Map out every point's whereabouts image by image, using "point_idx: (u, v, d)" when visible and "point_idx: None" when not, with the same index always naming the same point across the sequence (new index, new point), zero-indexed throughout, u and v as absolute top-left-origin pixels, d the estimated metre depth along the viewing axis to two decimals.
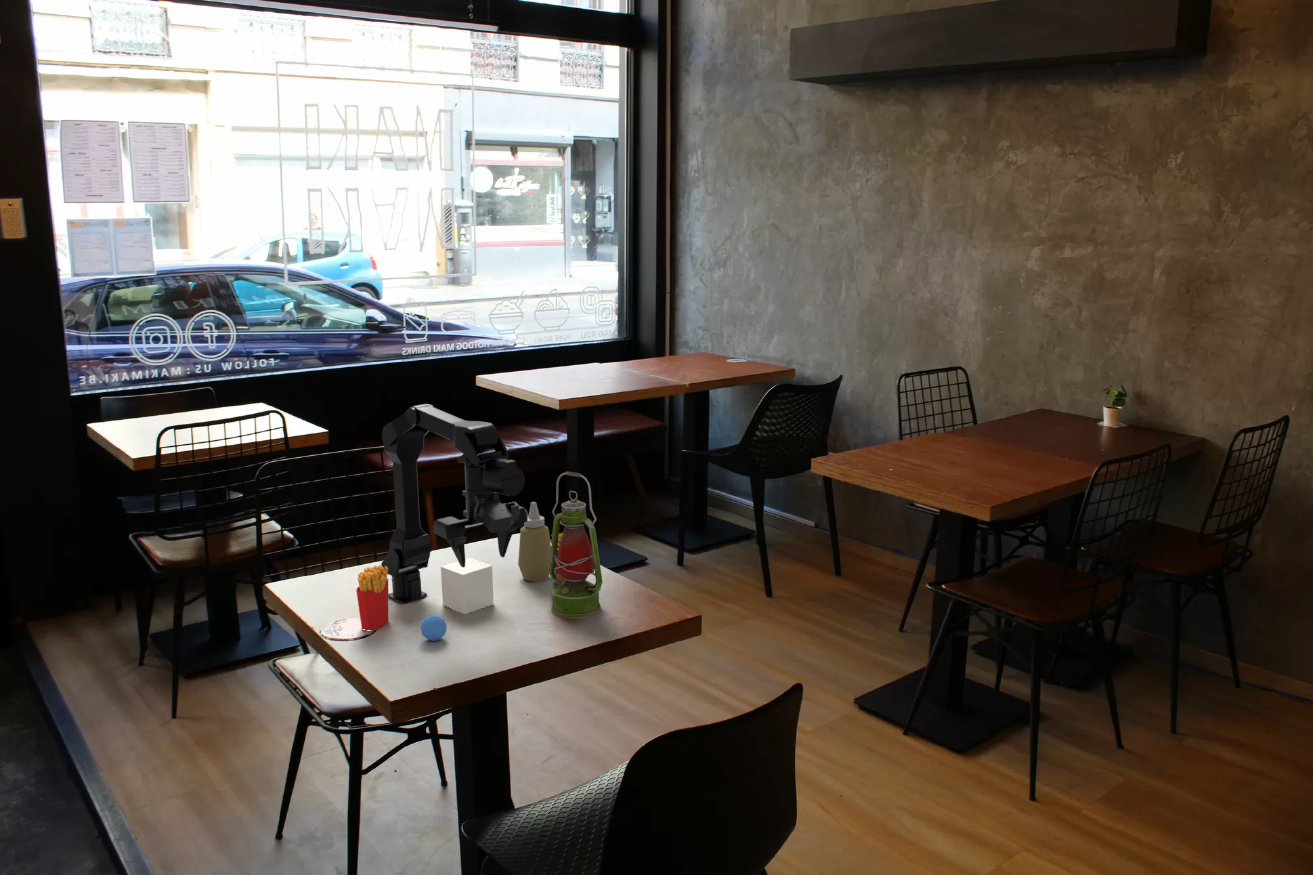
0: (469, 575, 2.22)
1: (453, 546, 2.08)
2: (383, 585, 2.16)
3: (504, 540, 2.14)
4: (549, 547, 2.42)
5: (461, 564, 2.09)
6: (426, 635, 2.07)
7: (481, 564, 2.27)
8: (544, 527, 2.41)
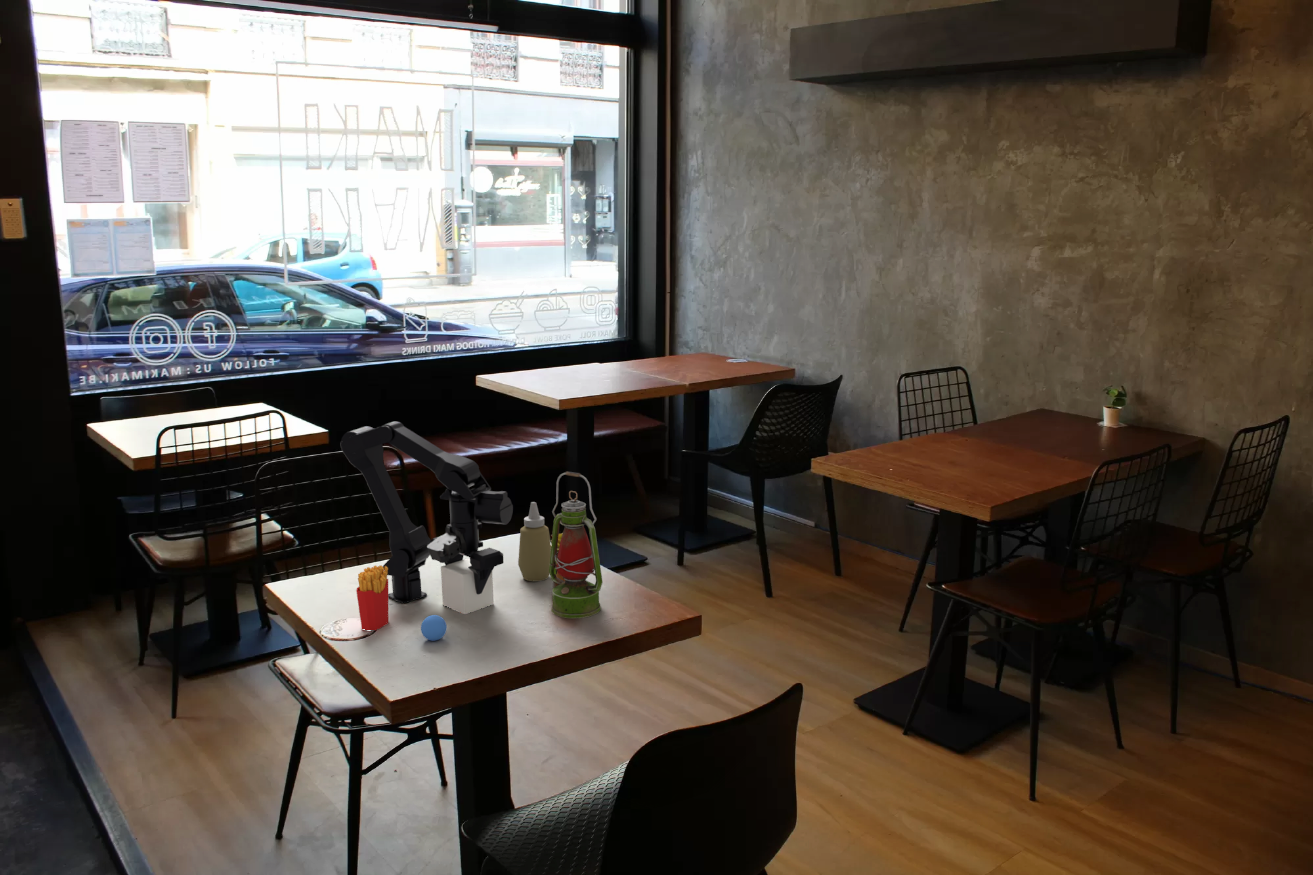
0: (469, 575, 2.22)
1: None
2: (383, 585, 2.16)
3: None
4: (549, 547, 2.42)
5: None
6: (426, 635, 2.07)
7: None
8: (544, 527, 2.41)
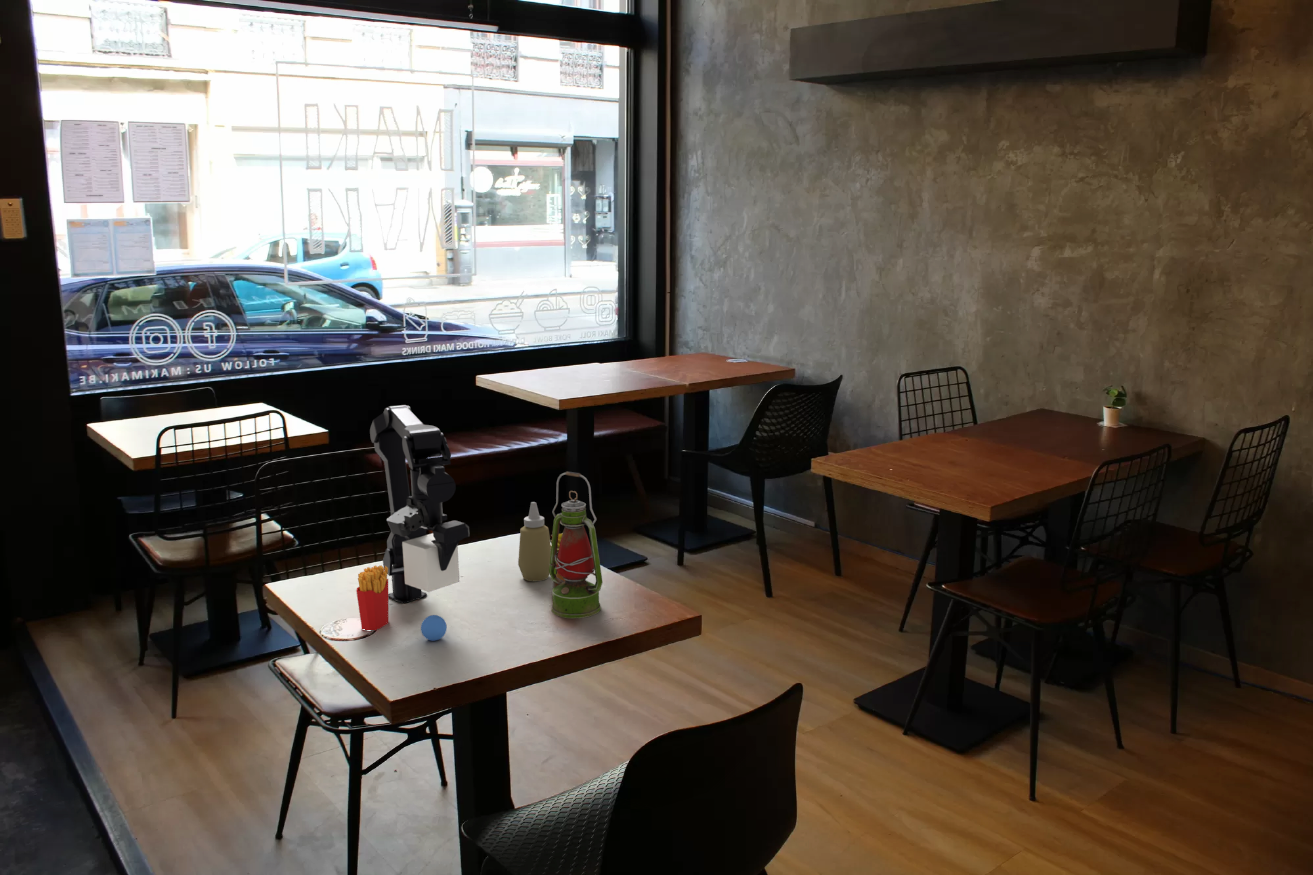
0: (433, 550, 2.08)
1: None
2: (383, 585, 2.16)
3: None
4: (549, 547, 2.42)
5: None
6: (426, 635, 2.07)
7: None
8: (544, 527, 2.41)
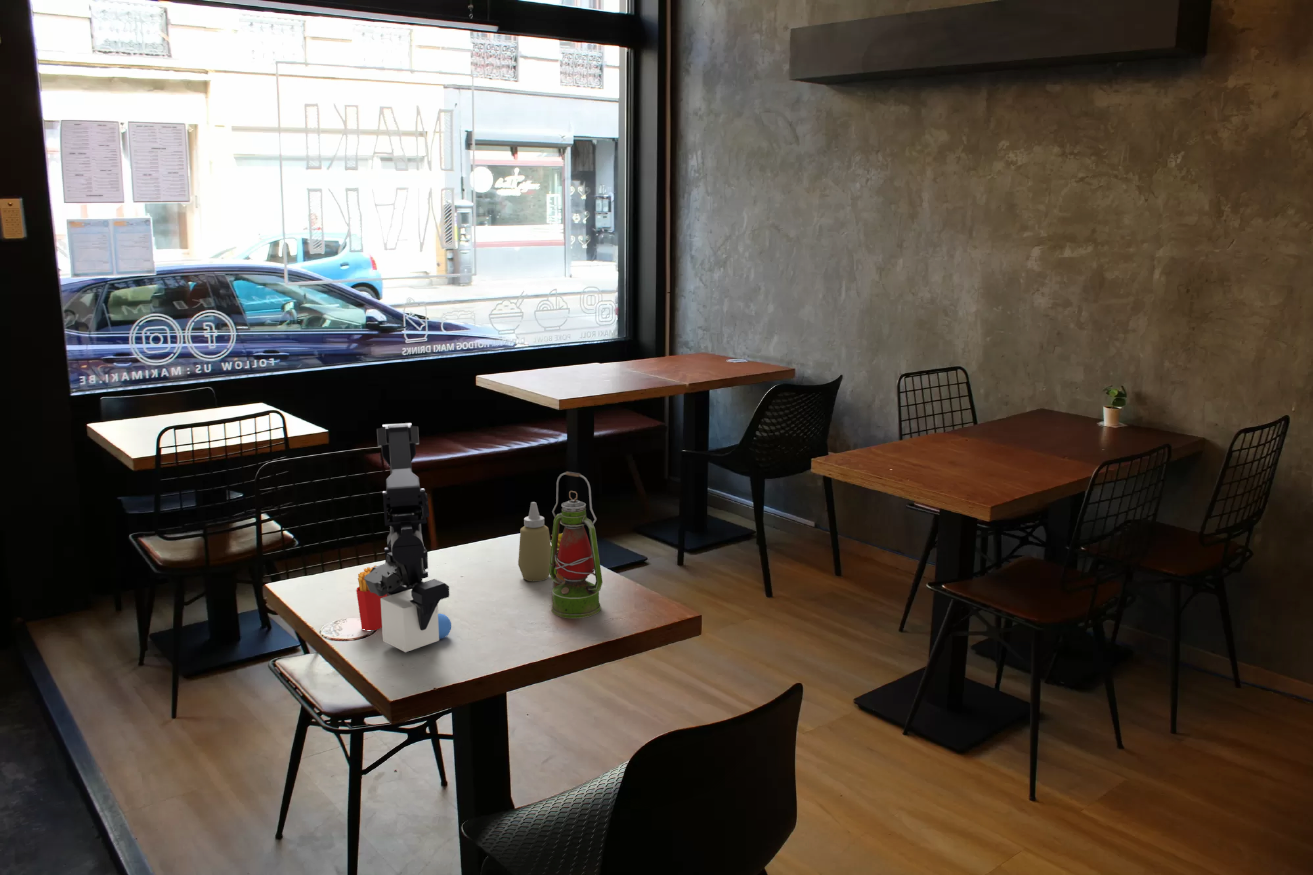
0: (410, 609, 2.00)
1: None
2: None
3: None
4: (549, 547, 2.42)
5: None
6: None
7: None
8: (544, 527, 2.41)
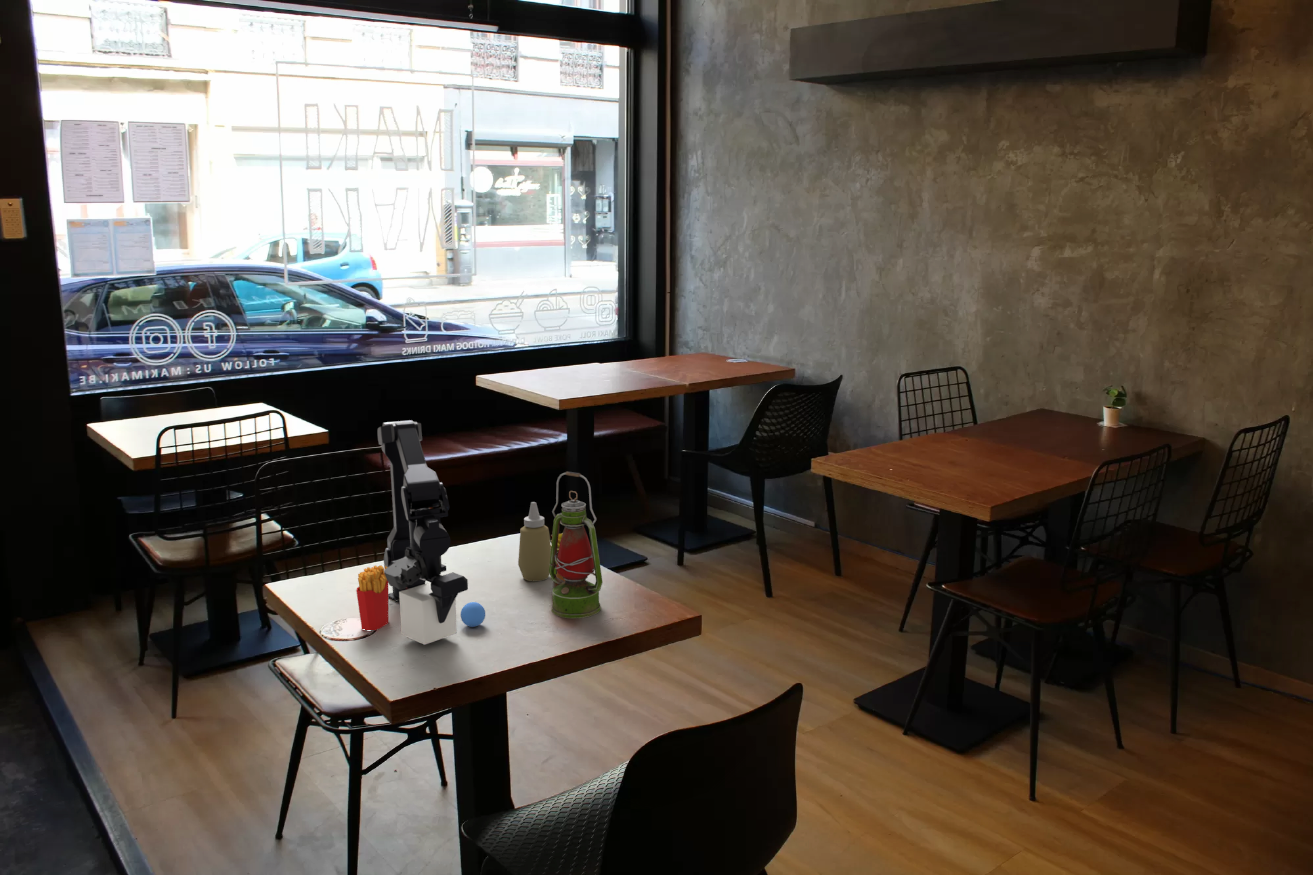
0: (429, 602, 2.03)
1: None
2: (383, 585, 2.16)
3: None
4: (549, 547, 2.42)
5: None
6: None
7: None
8: (544, 527, 2.41)
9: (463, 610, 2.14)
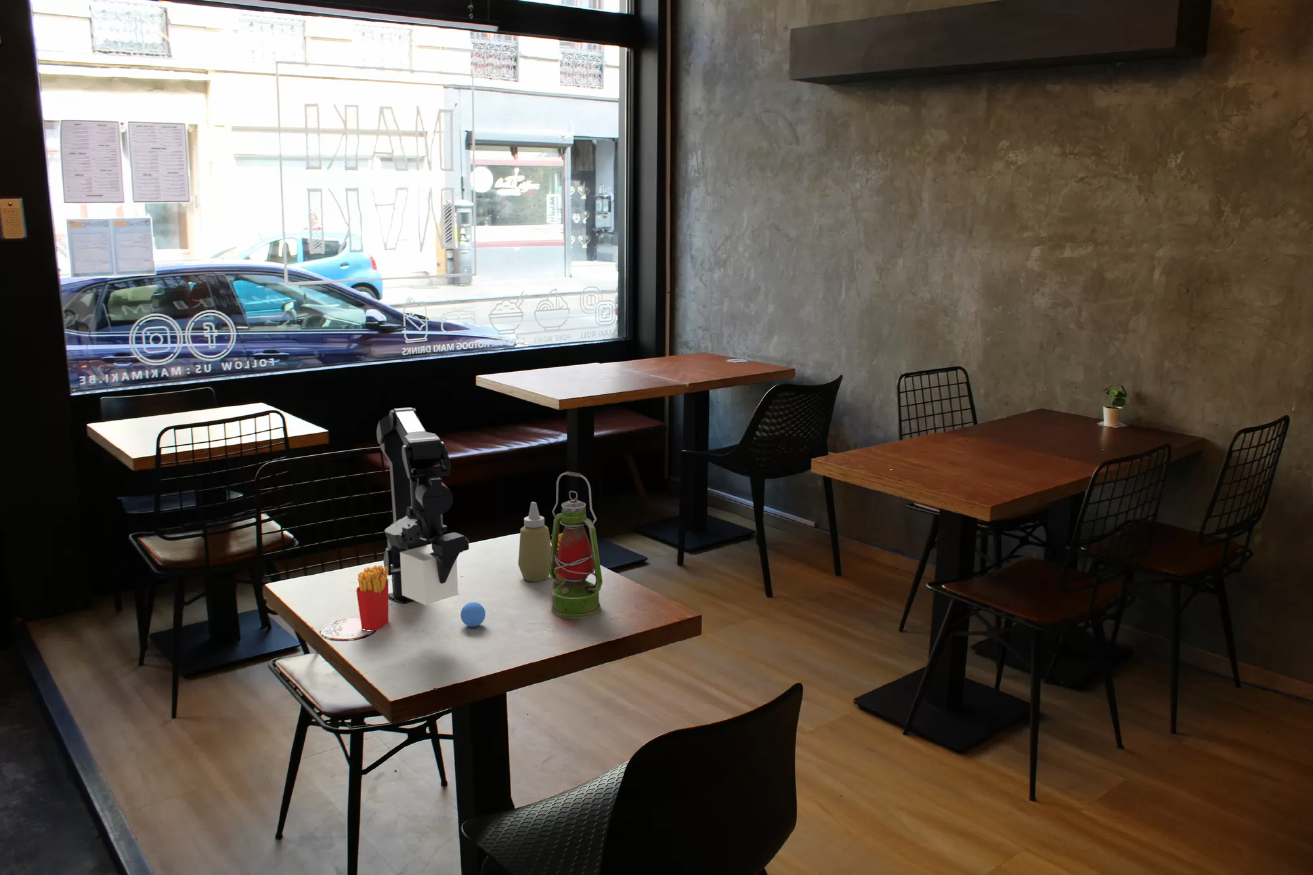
0: (430, 561, 2.02)
1: None
2: (383, 585, 2.16)
3: None
4: (549, 547, 2.42)
5: None
6: None
7: None
8: (544, 527, 2.41)
9: (463, 610, 2.14)
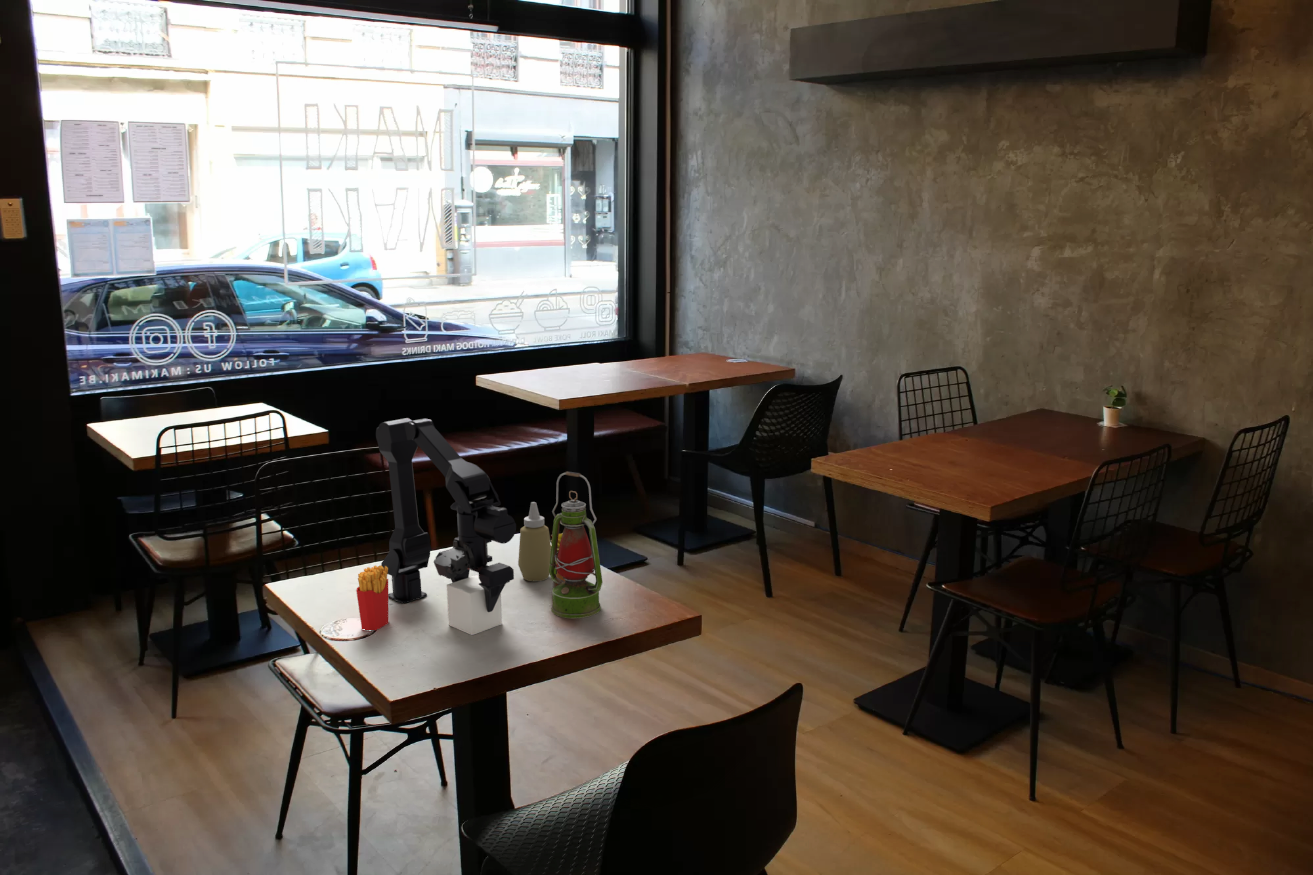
0: (477, 594, 2.11)
1: None
2: (383, 585, 2.16)
3: None
4: (549, 547, 2.42)
5: None
6: None
7: None
8: (544, 527, 2.41)
9: None
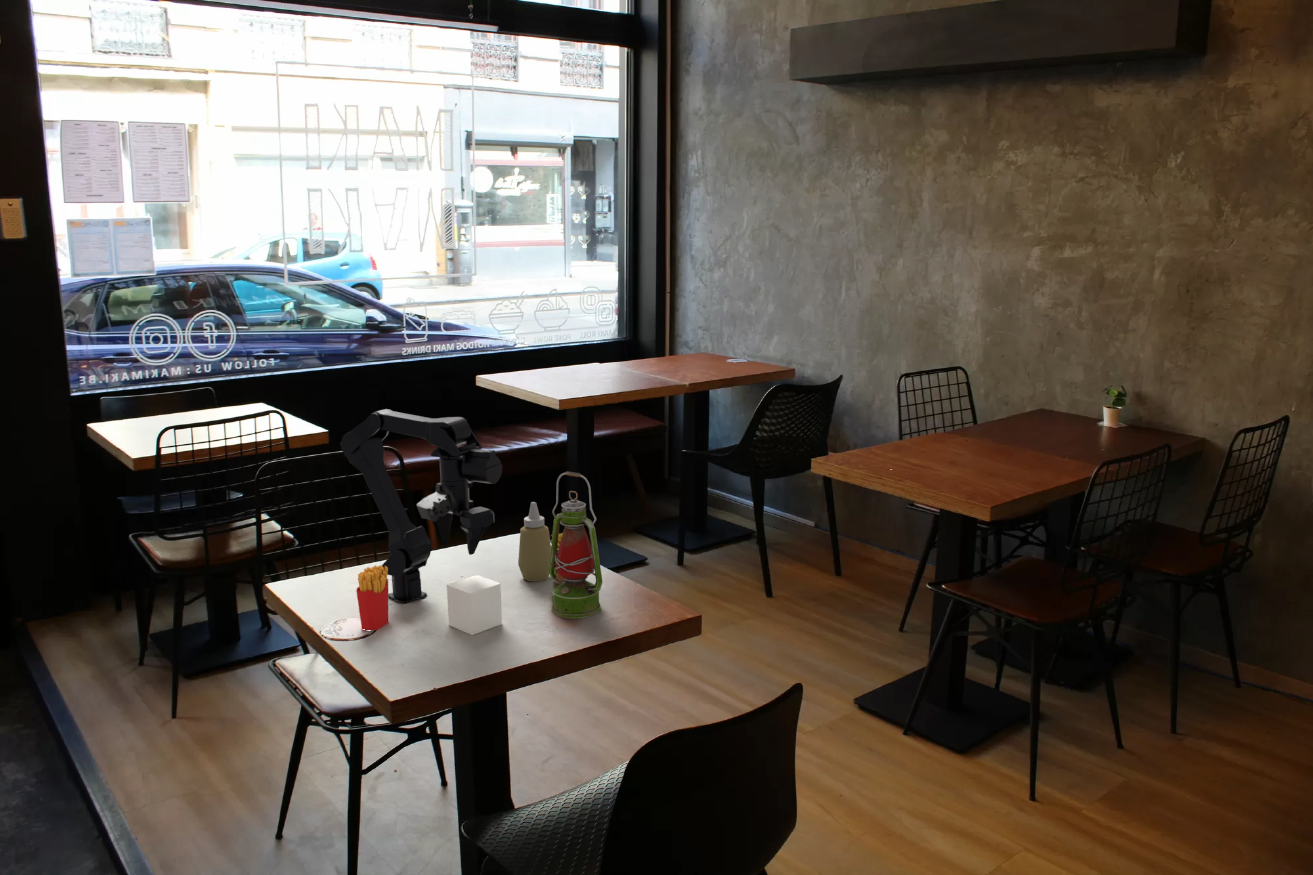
0: (477, 594, 2.11)
1: None
2: (383, 585, 2.16)
3: None
4: (549, 547, 2.42)
5: None
6: None
7: (489, 582, 2.16)
8: (544, 527, 2.41)
9: None
